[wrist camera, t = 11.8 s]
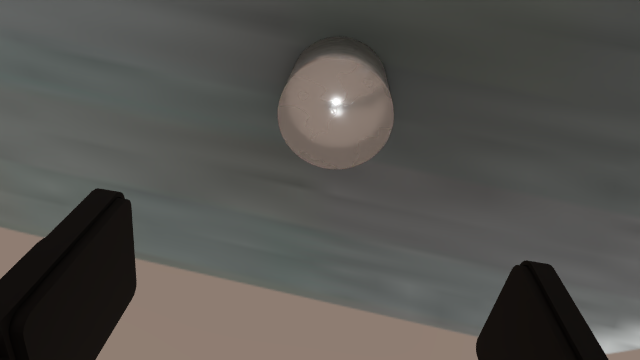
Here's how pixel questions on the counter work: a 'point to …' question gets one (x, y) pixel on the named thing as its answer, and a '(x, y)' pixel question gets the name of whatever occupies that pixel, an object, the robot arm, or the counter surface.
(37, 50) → the counter surface
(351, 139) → the cylinder
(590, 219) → the counter surface
